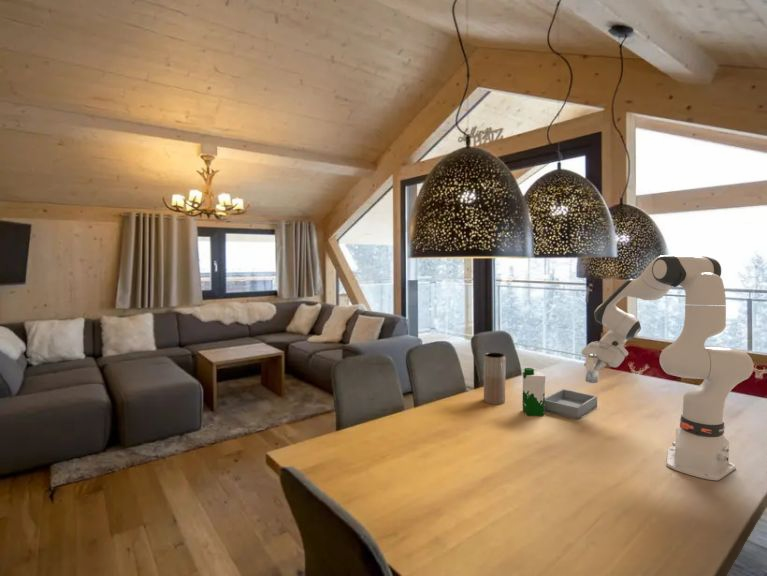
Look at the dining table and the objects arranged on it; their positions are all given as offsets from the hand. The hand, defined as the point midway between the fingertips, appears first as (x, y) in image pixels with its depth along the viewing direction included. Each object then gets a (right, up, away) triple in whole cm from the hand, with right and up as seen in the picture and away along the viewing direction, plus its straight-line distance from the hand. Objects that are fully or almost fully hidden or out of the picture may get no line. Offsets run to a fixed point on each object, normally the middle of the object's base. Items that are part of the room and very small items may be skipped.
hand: (590, 368), depth 192 cm
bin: (-7, -20, +6) cm, 22 cm away
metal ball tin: (+1, -6, +1) cm, 6 cm away
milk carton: (-25, -20, 0) cm, 33 cm away
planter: (-39, -19, +17) cm, 46 cm away
